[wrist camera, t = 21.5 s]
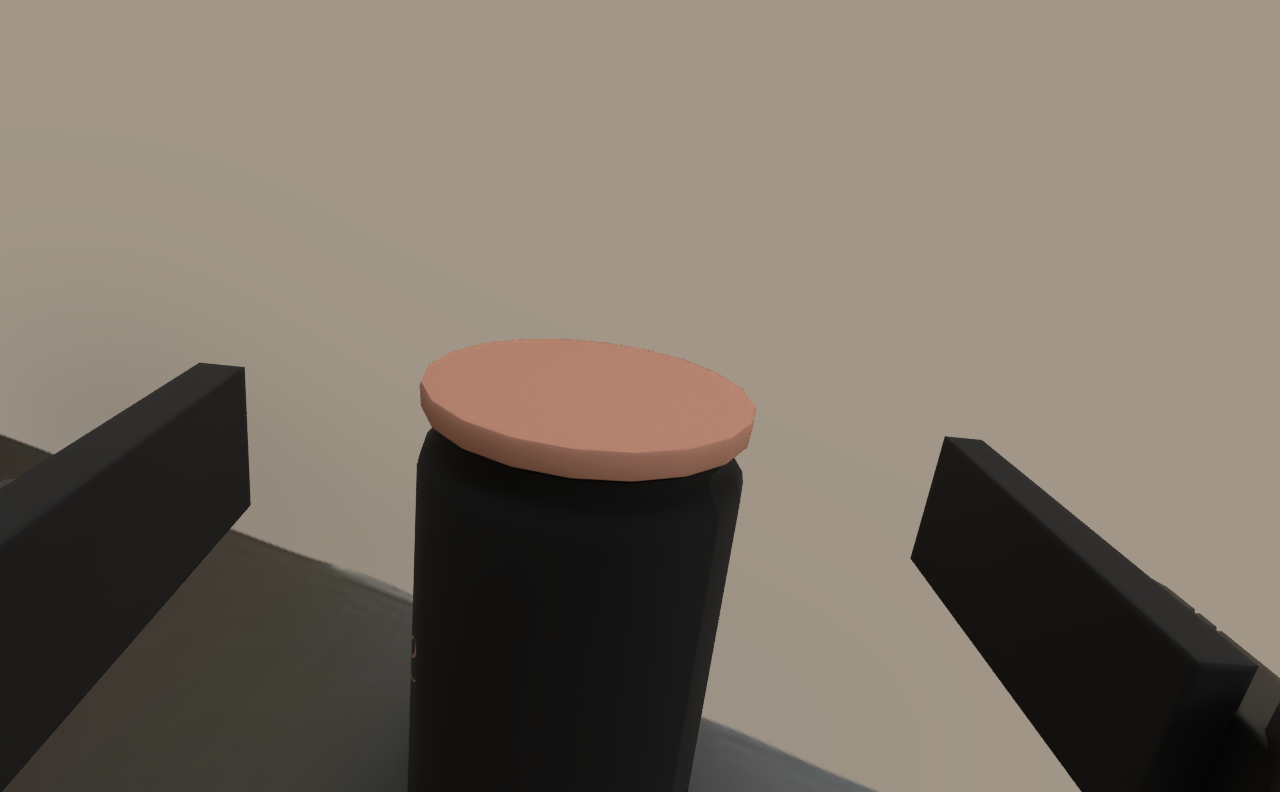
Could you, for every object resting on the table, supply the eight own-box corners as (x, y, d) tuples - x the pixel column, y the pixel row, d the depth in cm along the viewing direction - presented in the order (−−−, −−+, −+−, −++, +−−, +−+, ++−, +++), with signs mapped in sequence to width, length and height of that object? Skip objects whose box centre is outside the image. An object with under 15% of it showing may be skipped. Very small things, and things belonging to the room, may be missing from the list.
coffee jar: (545, 681, 38) (580, 324, 32) (730, 809, 32) (815, 400, 26) (348, 813, 29) (346, 365, 24) (549, 1019, 23) (613, 490, 18)
